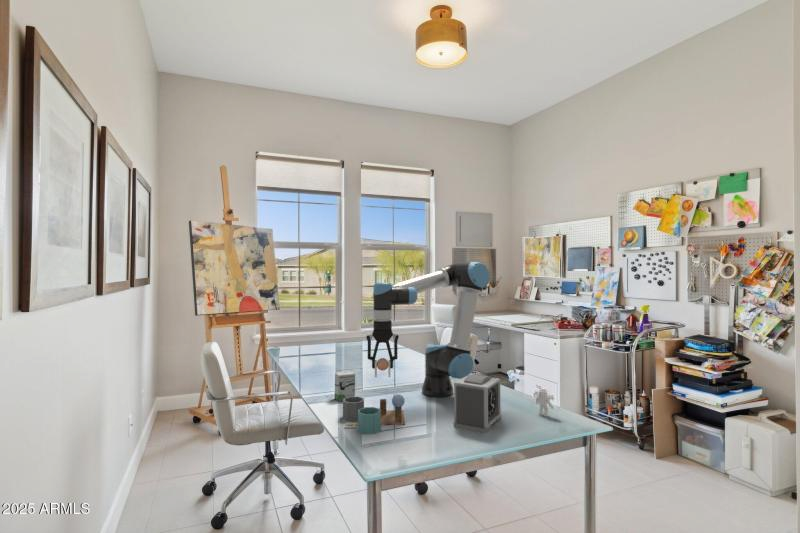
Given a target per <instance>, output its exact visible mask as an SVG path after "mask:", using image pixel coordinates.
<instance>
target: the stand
mask: <svg viewBox="0 0 800 533" xmlns="http://www.w3.org/2000/svg"><path fill="white" fill-rule="evenodd" d="M402 407H403V406H402ZM402 407H399V408H397V407H395V406H394V409H393V410H392V409H391V410H390V409H388V410H387V399H386V398H380V399H379V409H381V426H405V425H406V424H405V423H406V420H405V412H404V411H405V410H403V408H402Z"/></svg>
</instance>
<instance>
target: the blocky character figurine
mask: <svg viewBox="0 0 800 533" xmlns="http://www.w3.org/2000/svg"><path fill="white" fill-rule="evenodd" d="M535 386H536V388H538V389H539V390H534V391H533V396H534V398H535V405H539V411H538V415H539V416H543V417H550V414H549V410H548V409H549V408H551V410H553V409H554V405H553V404H552V403H551V400H552V402H553V401H555V397H554V395H553V394H552V393H550V394H549V393H548V392H549V391H548V390H547V388H545V387H542V386H539V385H538V384H535ZM548 406H549V407H548Z"/></svg>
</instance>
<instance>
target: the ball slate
mask: <svg viewBox="0 0 800 533" xmlns="http://www.w3.org/2000/svg"><path fill="white" fill-rule="evenodd" d="M405 401H406V400H405V397H404V396H403V395H402V394H399V393H398V394H395V395H393V397H392V398H391V404H392V405H393V406H394V408H395V407H397V408H399V407H403V406H404V405H405Z"/></svg>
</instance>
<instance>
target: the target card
mask: <svg viewBox="0 0 800 533" xmlns="http://www.w3.org/2000/svg"><path fill="white" fill-rule="evenodd" d="M343 428H344V429H358V422H345V423H344V427H343Z"/></svg>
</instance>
